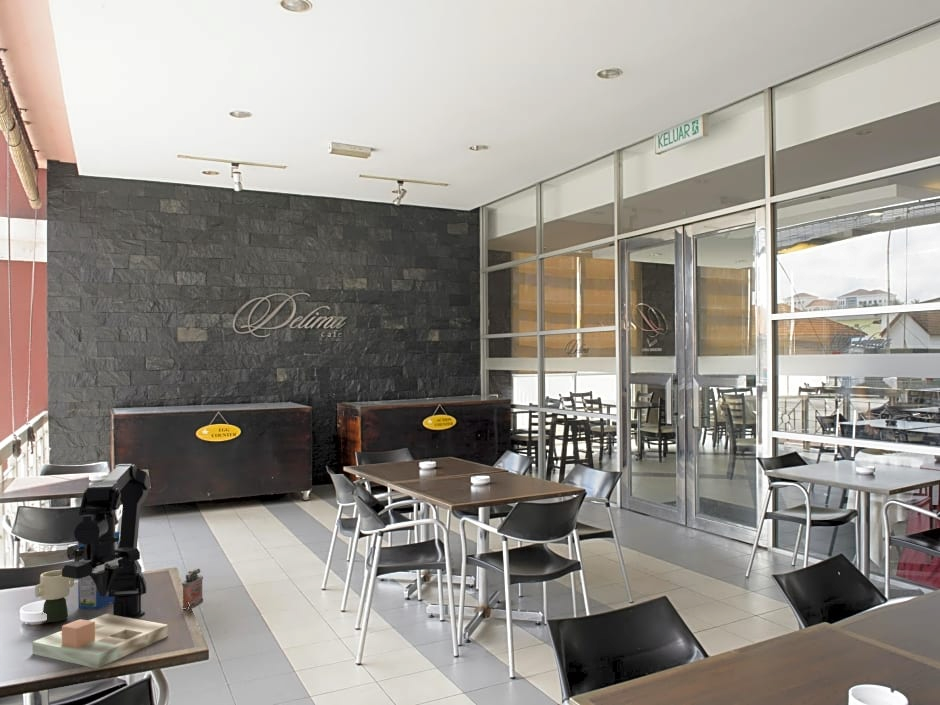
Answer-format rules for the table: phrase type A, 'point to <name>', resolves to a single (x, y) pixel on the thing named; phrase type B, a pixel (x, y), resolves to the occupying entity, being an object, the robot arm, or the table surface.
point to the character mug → (54, 594)
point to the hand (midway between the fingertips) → (102, 596)
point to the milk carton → (92, 589)
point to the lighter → (192, 589)
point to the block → (78, 633)
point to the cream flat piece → (104, 641)
